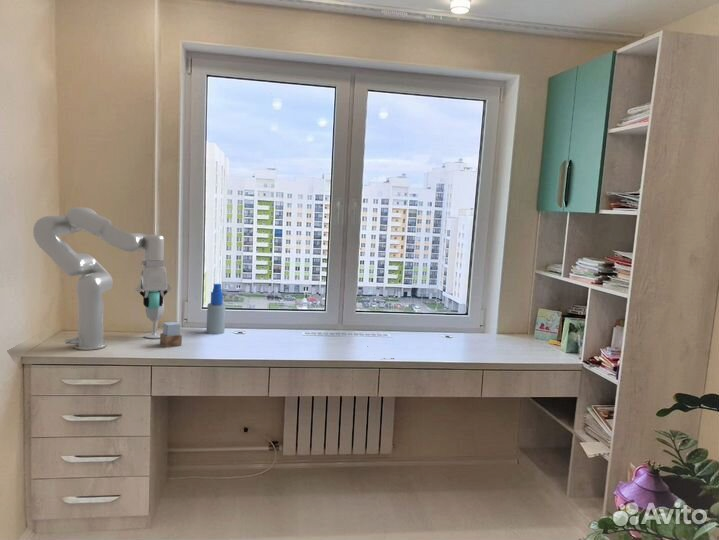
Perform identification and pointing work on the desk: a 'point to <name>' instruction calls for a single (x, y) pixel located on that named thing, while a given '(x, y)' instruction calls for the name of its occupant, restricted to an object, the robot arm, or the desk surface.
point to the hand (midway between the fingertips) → (153, 305)
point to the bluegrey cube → (171, 328)
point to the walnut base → (170, 340)
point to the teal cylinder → (153, 299)
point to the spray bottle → (216, 312)
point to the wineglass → (154, 320)
